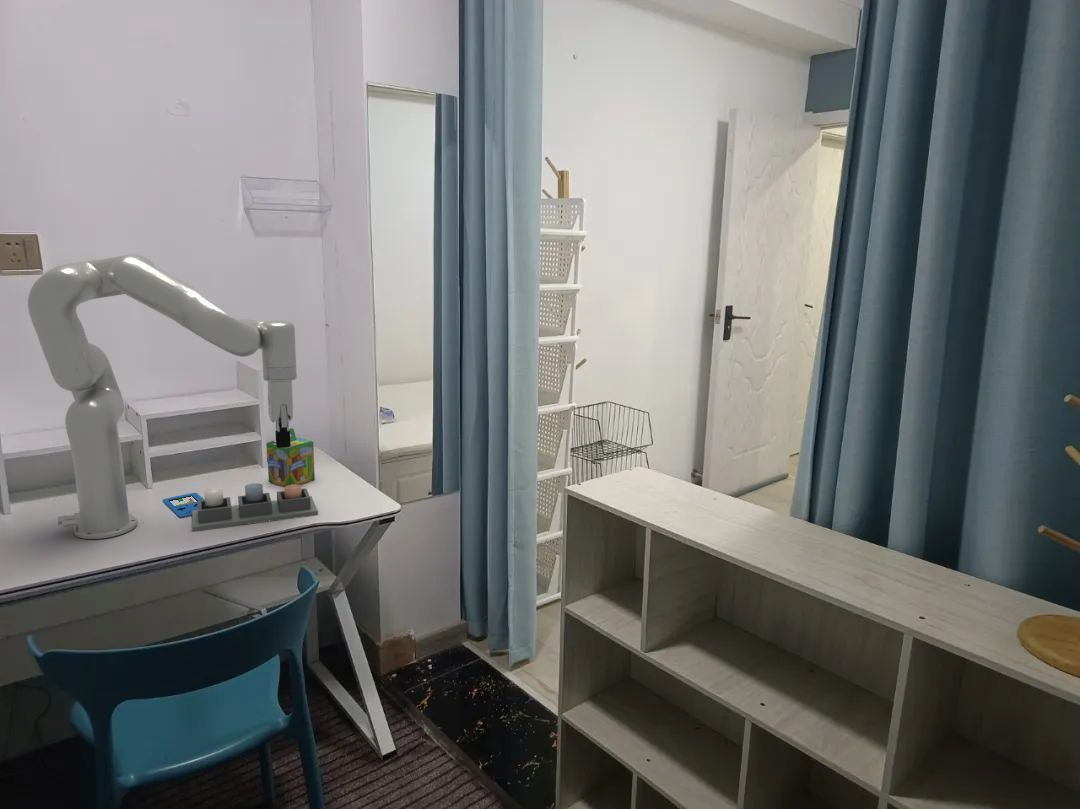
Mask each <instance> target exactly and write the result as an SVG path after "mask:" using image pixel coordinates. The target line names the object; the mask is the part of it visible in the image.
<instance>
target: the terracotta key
mask: <svg viewBox="0 0 1080 809" xmlns="http://www.w3.org/2000/svg"><path fill="white" fill-rule="evenodd" d="M283 487H284V488H283V489H284V490H283V491H285V500H286V499H294V498H302V491H301V489H302V484H301V485H297V484H292V485H287V486H283Z"/></svg>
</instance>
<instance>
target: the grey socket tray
mask: <svg viewBox="0 0 1080 809" xmlns="http://www.w3.org/2000/svg"><path fill="white" fill-rule="evenodd" d="M301 491H302V498H294V499H286V500H285V491H284V490H280V491H276V500H272V499H271V495H270V492H263V499H262V500H259V501H247V500H246V496H245V494H244V495H237V497H238V498H237V500H238V504H237V505H236V504H235V505H232V504H231V503H232V502H231V497H230V496H229V497H223V504H221V505H218V506H206V505H205V499H204V500H201V501H198V510H192V516H191V518H192V519H191V520H192V522H191V530H192V532H198V531H197V530H199V531H205V530H204V529H206V530H213V528H214V529H221V528H228V527H237V526H243V525H242V524H244V525H249V524H248V523H252V524H256V523H255V522H260V523H263V522H262V521H267V522H272V521H271V520H275V521H280V520H279V519H282V520H287V519H286V518H290V519H295V518H294V517H298V518H303V517H302V516H305V517H310V515H313V516H318V515H319V510H318V509H317V506H316V503H315V501H314V498H313V496H312V495H311V496H310V494H309V491H308V489H307V488H306V487H305V488H301ZM269 520H270V521H269ZM236 525H237V526H236Z"/></svg>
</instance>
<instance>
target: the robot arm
mask: <svg viewBox="0 0 1080 809" xmlns="http://www.w3.org/2000/svg"><path fill="white" fill-rule="evenodd" d="M121 295H126V296H128V297H129V298H131V299H132V300H133V299H134V301H137V302H138V303H141V304H143V305H144V306H146V307H148V308H151V309H152V310H154V311H156V312H158V313H159V314H162V316H165V317H167V318H169V319H171V320H172V321H174V322H176V324H178V325H180V326H181V327H183V328H185V329H187V330H189V331H190V332H192V333H193V334H195V335H196V336H197V337H200V338H201V339H203V340H205V342H208V343H210V344H211V345H214V346H216V347H217V348H220V349H221V350H223V351H225V352H227V353H229V354H231V355H234V356H236V357H249V356H251V355H254V354H255V353H256V352H257V351H258V350H261V358H262V374H263V376H262V378H263V380H264V381H266V382H267V404H268V405H267V408H268V410H267V411H268V417H269V420H270V421H271V422H272V423H275V431H274V432H275V440H276V446H277V448H283V447H290V446H291V444H290V437H291V434H290V431H289V429H290V422H291V421H293V417H294V416H293V415H294V413H293V412H294V410H293V409H294V401H293V399H294V398H293V382H292V381H295V380H297V377H298V376H297V374H298V373H297V357H296V356H297V355H296V354H297V353H296V331H295V325H294V323H293V322H291V321H288V320H282V319H281V320H280V319H279V320H274V319H273V320H267V321H264V320H255V319H246V318H245V319H244V318H243V319H242V318H241V319H237V318H236V317H234V316H232V315H230V314H228V313H227V312H226V311H223V310H222V309H220V308H219V307H217V306H216V305H214V304H213V303H212V302H210V301H209V300H208V299H207V298H206V297H205V296H204V295H203V294H202V293H201V292H200V291H199V290H197V289H196V288H195V287H193V286H192V285H190V284H188V283H186V282H184V281H182V280H180V279H179V278H177V277H175V276H173V275H171V274H169V273H167V272H166V271H165V270H162V269H161V268H159V267H157V266H156V265H155V264H154V263H153V262H152V261H151V259H149V258H147V256H144V255H142V254H139V253H128V254H124V255H119V256H114V257H113V256H112V257H106V258H100V259H92V260H86V261H78V262H72V263H65V264H61V265H57V266H55V267H53V268H51V269H48V270H47V271H46V272H45V273H43V274H42V275H41V276H40V277H38V278H37V280H36V281H35V282H34V283H33V285H32V286H31V288H30V290H29V293H28V298H27V309H28V313H29V317H30V320H31V323H32V326H33V328H34V331H35V333H36V336H37V338H38V342H39V345H40V347H41V350H42V352H43V355H44V357H45V358H44V359H45V360H46V362H47V365H48V367H49V370H50V374H51V377H52V379H53V381H54V382H55V383H56V384H57V385H58V386H59V387H60V389H61V388H62V390H63V389H64V390H65V391H69V392H71V395H72V396H73V399H74V401H72V403H71V404H70V405H69V407H68V408H67V410H66V414H65V419H64V420H65V424H64V425H65V431H66V434H67V438H68V441H69V446H70V449H71V450H70V452H71V456H72V465H73V471H74V479H75V488H76V495H77V501H78V502H77V503H78V510H79V511H78V512H75V513H74V514H72V515H68V514H67V515H66V514H65V515H58V516H57V526H59V525H60V526H61V525H62V527H63V528H65V527H70V526H71V527H72V526H73V534H74V536H75V537H76V538H77V537H78V538H80V539H84V540H85V539H86V540H97V539H98V540H99V539H107V538H112V537H113V538H114V537H117V536H120V535H123V534H126V533H128V532H130V531H132V530H134V528H136V527H137V525H138V518H137V517H136V516H134V515H132V514H130V513H129V507H128V506H129V505H128V496H127V487H126V478H125V469H124V461H123V452H122V445H121V440H120V436H119V431H118V430H119V429H118V423H119V421H120V419H121V418H122V416H123V415H124V411H125V402H124V398H123V395H122V392H121V389H120V387H119V385H118V382H117V381H118V380H117V379H116V375H115V374H114V371H113V368H112V365H111V363H110V361H109V358H108V356H107V355H106V354H105V352H104V351H103V350H102V349H101V348H100V347H98V346H97V345H96V344H93V343H90V342H89V341H88V340H89V339H88V338H87V335H86V332H85V329H84V327H83V324H82V322H81V320H80V319H79V316H78V314H77V308H78V306H79V305H81V304H83V303H86V302H88V301H92V300H97V299H102V298H108V297H116V296H121Z"/></svg>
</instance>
